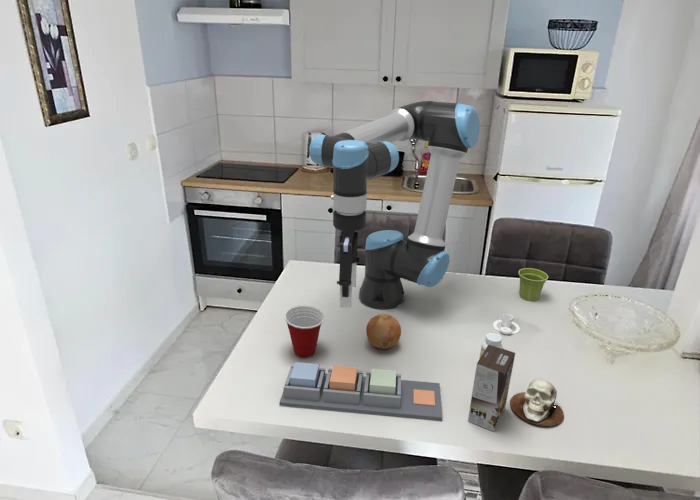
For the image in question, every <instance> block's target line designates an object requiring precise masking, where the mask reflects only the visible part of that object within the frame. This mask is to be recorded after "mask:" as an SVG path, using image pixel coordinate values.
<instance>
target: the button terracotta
mask: <svg viewBox="0 0 700 500" xmlns="http://www.w3.org/2000/svg"><path fill="white" fill-rule="evenodd" d="M331 369H332V373H331V377H330V381H329V389H330V390H341V391H352V392H355V388H356V382H357V371H358V367H357V366H356V367H354V366H343V365H332V367H331Z"/></svg>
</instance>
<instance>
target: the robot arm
mask: <svg viewBox="0 0 700 500" xmlns="http://www.w3.org/2000/svg"><path fill="white" fill-rule="evenodd" d="M480 124H481V122H480V117H479V114H478V111H477V109H476V108H475V107H474V106H472V105H469V104H464V103H457V102H456V103H455V102H443V101H433V100H422V101H416V102H412V103H408V104H405V105H402V106H399V107H397V108H396V107H395V108H394V109H392V110H391V111H390V112H388V114H387V115H385V116H383V117H381V118H377V119H375V120H372V121H369V122H367V123H365V124H362V125H359V126H356V127H354V128H351V129H349V130H345V131H343V132H341V133H337V134H336V135H335V134H334V135H328V134H318V135H316V136H314V137H313V139H312V140H311V141H310V144H309V147H308V148H309V149H308V151H309V157H310V159H311V161H312V162H313V163H314V164H316V165H319V166H322V167H323V168H332V171H333V172H332V174H333V176H332V177H333V188H332V190H333V194H331V195H330V199H331V200H333V202H332V203H333V204H332V205H333V212H332V225H333V228H335V229H336V230H338V231H341V232H340V235H339V242H340V243H339V254H340V255H339V273H338V274H339V275H338V277H339V278H338V280H336V284H337V285H338V286H339V308H345V309H352V299H353V298H352V296H353V295H352V293H353V292H352V290H353V288H356V287H357V267H358V266H357V263H359V262H360V257H358V255H359V254H358V242H359V241H358V239H359V232H358V231H361V230H363V229H364V228H365V227H366V225H367V224H366V221H367V213H366V210H367V198H368V197H367V196H368V192H367V190H368V189H367V187H368V186H367V185H368V181H369V180H372V179H375V178H378V177H381V176H385V175H387V174H388V173H391V172H392V171H394V170H395V168H397V166H398V164H399V161H400V155H399V151H398V148H397V147H396V146H395V145H394V144H393V143H395V142H397V141H398V142H405V141H407V140H419V141H423V142H428V143H427V149H428V150H429V152H430V157H429V163H428V167H427V171H426V177H425V181H424V184H423V189H422V195H421V198H420V204H419V207H418V208H419V209H418V214H417V217H416V222H415V226H414V230H413V233H411V234H410V235H408V237H407V240H404V235H403V233H402V232H401V231H398V230H392V229H388V230H387V229H383V230H378V231H375V232H372V233H370V234H368V236H367V237H366V241H365V248H364V250H365V257H364V258H365V260H364V262H365V263H364V278H363V281H362V284H361V286H360V288H359V291H358V299H359V301H360V302H361V303H362V304H363V305H365V306H367V307H370V308H371V309H379V310H389V309H395V308H397V307H400V306H401V305H403V303H404V301H405V290H404V286H403V283H402V279H403V280H406V281H409V282H412V283H414V284H417V285H419V286H424V287H429V288H432V287H435V286H437V284H439V283H440V282H441V280H442V279H443V278H444V276H445V275H446V273H447V270H448V268H449V264H450V254H449V253H448V252H447V251H446V249H445V248H446V246H447V245H446V243H445V241H444V240H443V235H444V232H445V231H444V230H445V228H446V227H445V226H446V223H447V218H448V214H449V208H450V206H451V201H452V196H453V192H454V187H455V185H456V184H455V183H456V179H457V174H458V171H459V170H458V169H459V166H460V165H459V164H460V162H461V161H460V160H461V159H462V158H463V157H465V156H466V155H467V154H468V150H469V149H471V148H474V147H475V146H476V145H477V142H478V140H479V136H480V131H481V129H480V128H481V127H480V126H481V125H480Z"/></svg>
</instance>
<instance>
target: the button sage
mask: <svg viewBox="0 0 700 500" xmlns="http://www.w3.org/2000/svg"><path fill="white" fill-rule="evenodd" d="M370 372H371V379H370V391H369V393H374V394H385V395H395V388H396V374H397V370H393V369H392V370H391V369H381V368H379V369H378V368H371V370H370Z"/></svg>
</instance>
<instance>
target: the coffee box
mask: <svg viewBox="0 0 700 500" xmlns="http://www.w3.org/2000/svg"><path fill="white" fill-rule="evenodd" d="M515 357H516V352H513V351H511V350H508V349H504V348H503V349H502V348H498V347H494V346H491V345H488V346H487V348H486V349H485V351H484V353H483V354H482V356H481V358H480V357H479V358H480V359H479V358H478V359H479V360H478V361H477V362H476V366H475V373H474V377H473V378H474V379H473V385H472V393H471V399H470V405H469V411H468V412H469V413H468V418H467V421H468V422H469V423H472V424H475V425H478V426H480V427H482V428H484V429H487V430H489V431H491V432H494V431H495V430H496V428H497V426H498V424H499V421H500V420H501V418H502V416H503V413H504V412H505V410H506V405H507V399H508V395H509V390H510V384H511V378H512V373H513V368H514V367H513V366H514V363H515Z"/></svg>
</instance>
